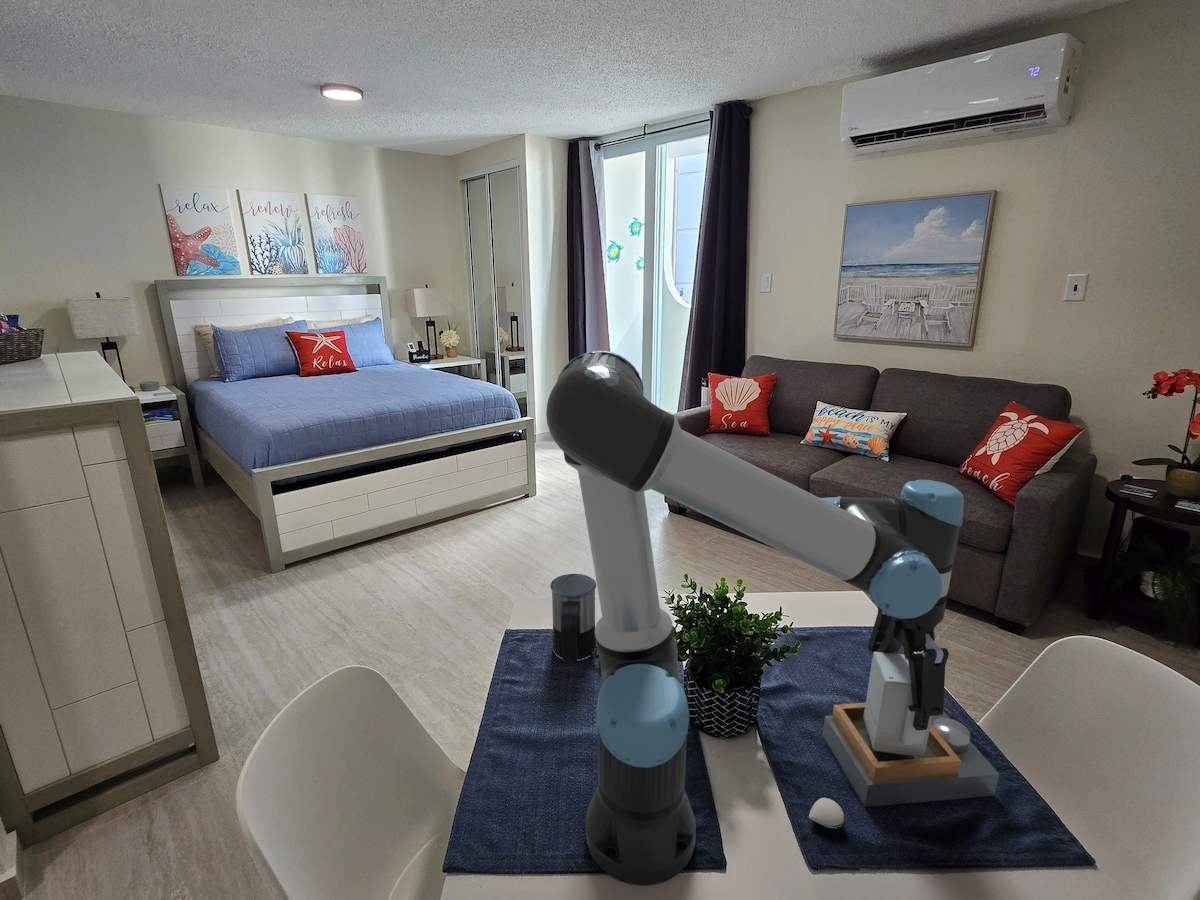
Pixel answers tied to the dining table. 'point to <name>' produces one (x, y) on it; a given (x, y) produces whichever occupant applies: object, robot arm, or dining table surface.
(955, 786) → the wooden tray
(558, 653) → the milk frother
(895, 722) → the supplement box
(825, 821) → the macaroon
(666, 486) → the robot arm
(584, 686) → the dining table surface
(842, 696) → the dining table surface
